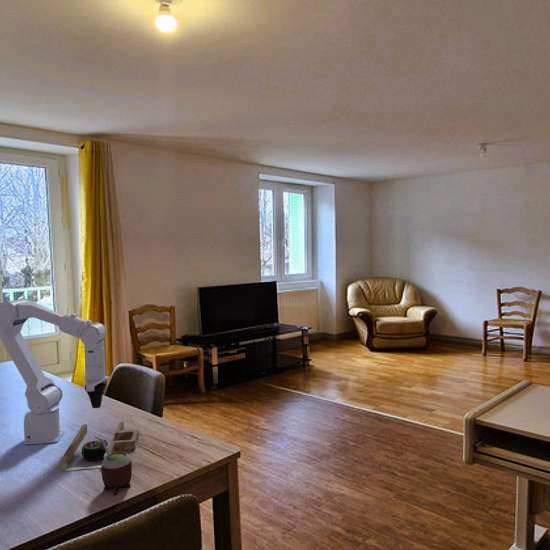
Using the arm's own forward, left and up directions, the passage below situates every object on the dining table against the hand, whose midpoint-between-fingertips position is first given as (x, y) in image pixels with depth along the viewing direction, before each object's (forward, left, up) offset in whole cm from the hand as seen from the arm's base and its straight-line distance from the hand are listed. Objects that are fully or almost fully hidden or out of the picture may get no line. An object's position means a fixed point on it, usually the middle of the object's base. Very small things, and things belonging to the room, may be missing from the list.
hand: (96, 407), depth 142 cm
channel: (+3, -7, -10) cm, 12 cm away
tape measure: (+2, -12, -10) cm, 16 cm away
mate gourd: (+11, -32, -10) cm, 35 cm away
